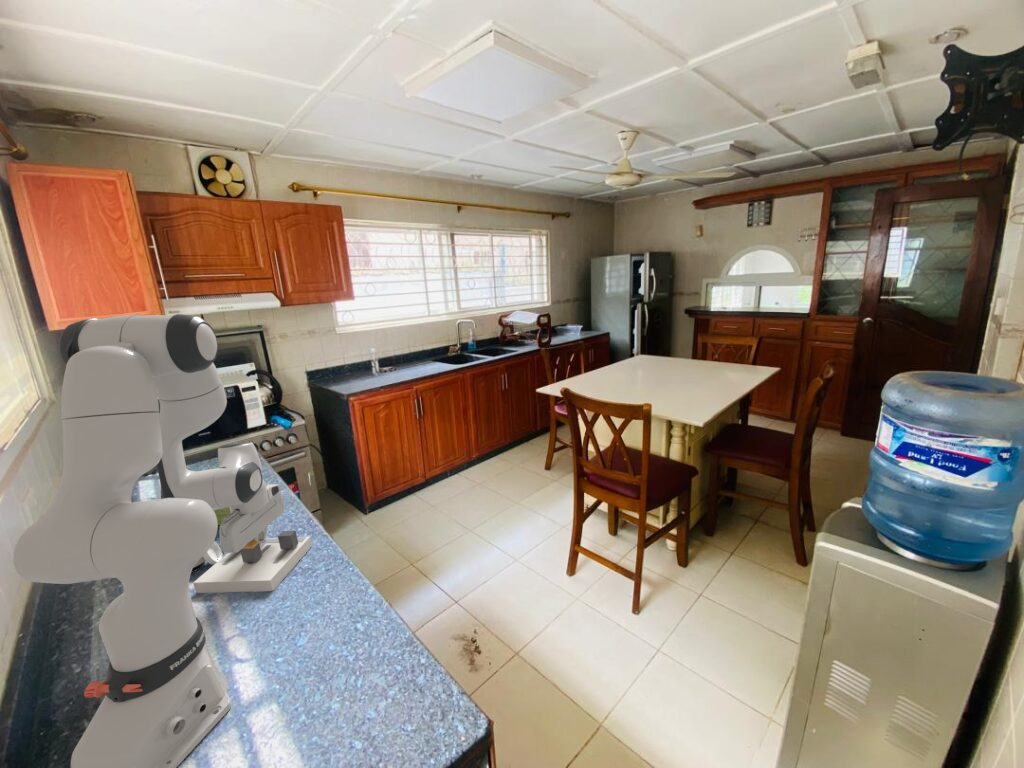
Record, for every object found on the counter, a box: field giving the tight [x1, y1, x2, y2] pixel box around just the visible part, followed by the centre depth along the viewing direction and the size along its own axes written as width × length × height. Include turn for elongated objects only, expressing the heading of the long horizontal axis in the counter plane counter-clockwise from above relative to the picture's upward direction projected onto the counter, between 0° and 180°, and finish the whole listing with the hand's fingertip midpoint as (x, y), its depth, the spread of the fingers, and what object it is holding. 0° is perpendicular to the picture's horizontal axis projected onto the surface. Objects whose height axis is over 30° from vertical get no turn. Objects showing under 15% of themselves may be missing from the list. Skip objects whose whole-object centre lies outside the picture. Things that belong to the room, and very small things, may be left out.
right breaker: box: [277, 530, 298, 549], centre depth 111 cm, size 2×4×4 cm, turn 86°
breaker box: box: [192, 536, 313, 594], centre depth 109 cm, size 18×20×3 cm
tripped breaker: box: [240, 541, 262, 562], centre depth 107 cm, size 2×4×4 cm, turn 86°
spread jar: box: [191, 540, 223, 573], centre depth 111 cm, size 12×11×12 cm
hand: (260, 546), depth 110 cm, fingers closed
